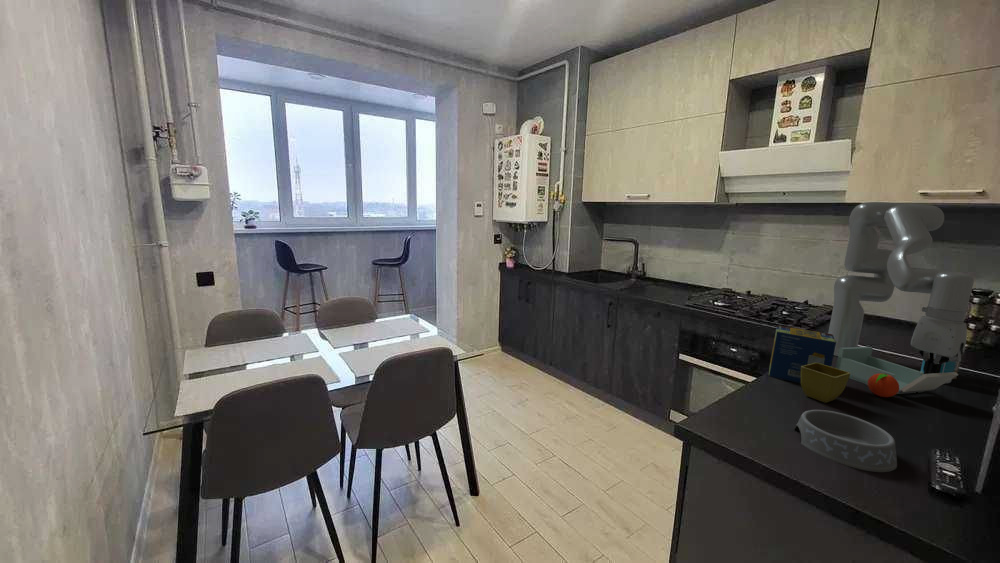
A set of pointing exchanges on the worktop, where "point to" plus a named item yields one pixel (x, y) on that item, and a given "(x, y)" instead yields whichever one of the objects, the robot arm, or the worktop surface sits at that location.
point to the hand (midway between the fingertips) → (930, 374)
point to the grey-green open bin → (872, 366)
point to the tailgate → (928, 382)
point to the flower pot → (823, 381)
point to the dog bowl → (848, 440)
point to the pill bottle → (943, 367)
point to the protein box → (799, 351)
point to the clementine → (883, 385)
